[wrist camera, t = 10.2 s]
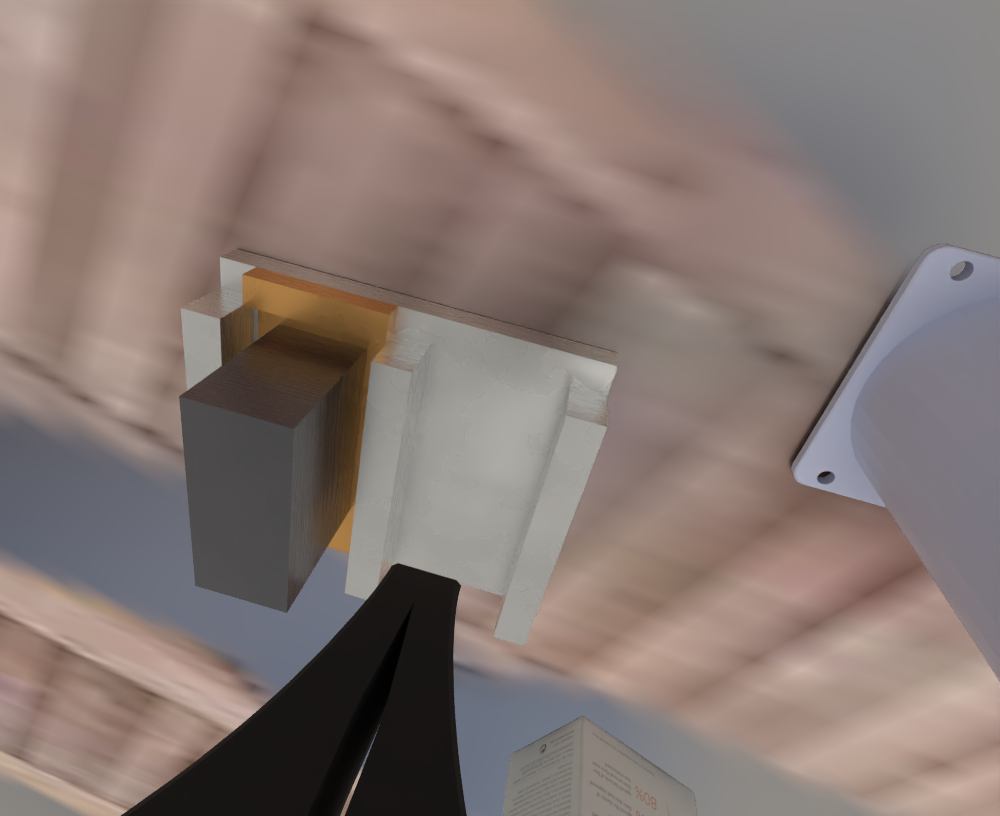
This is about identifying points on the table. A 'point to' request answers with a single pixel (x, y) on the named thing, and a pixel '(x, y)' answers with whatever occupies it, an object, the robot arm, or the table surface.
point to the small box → (590, 778)
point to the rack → (434, 426)
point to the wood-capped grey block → (271, 462)
